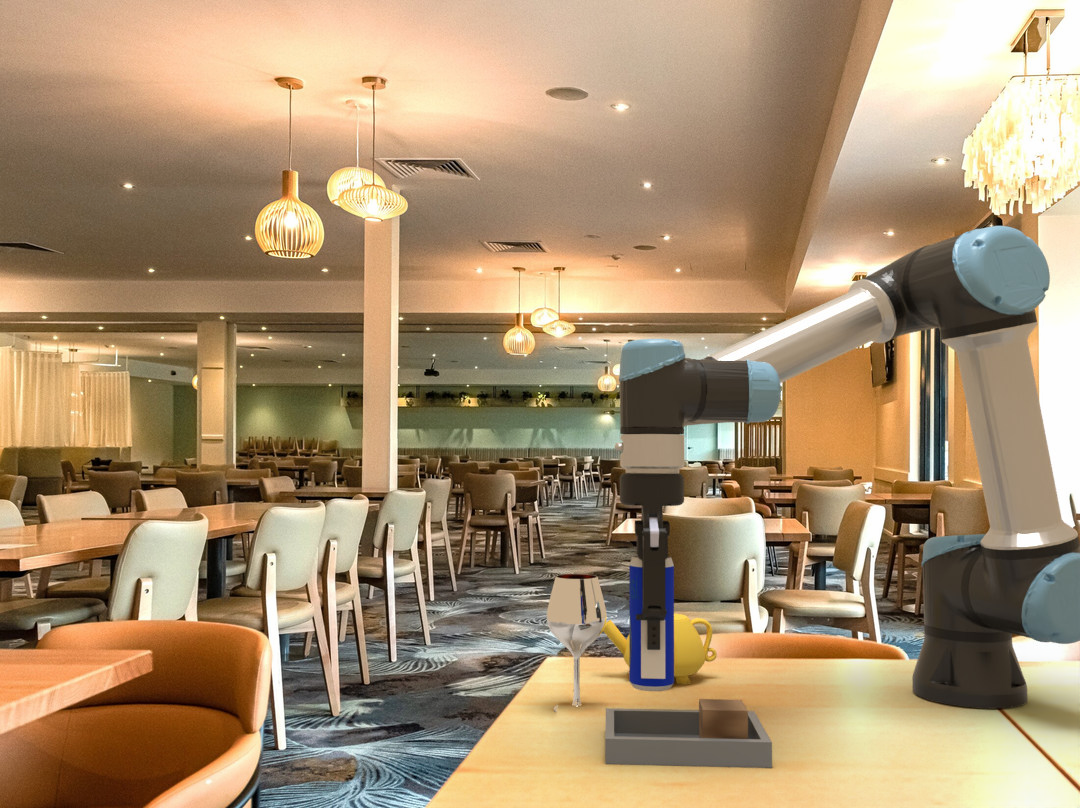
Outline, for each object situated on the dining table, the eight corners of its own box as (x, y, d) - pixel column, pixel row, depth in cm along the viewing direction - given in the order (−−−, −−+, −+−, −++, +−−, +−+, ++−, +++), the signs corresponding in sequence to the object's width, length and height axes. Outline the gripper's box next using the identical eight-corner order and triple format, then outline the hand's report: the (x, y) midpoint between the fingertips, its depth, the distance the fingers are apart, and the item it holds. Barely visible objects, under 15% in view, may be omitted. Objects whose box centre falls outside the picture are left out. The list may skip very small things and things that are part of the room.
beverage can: (645, 679, 117) (645, 553, 117) (682, 686, 113) (682, 556, 114) (620, 687, 113) (620, 556, 113) (658, 694, 109) (658, 560, 110)
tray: (754, 740, 118) (754, 711, 118) (772, 775, 105) (771, 742, 105) (605, 737, 119) (605, 708, 120) (605, 771, 107) (605, 738, 107)
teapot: (658, 664, 162) (657, 596, 162) (725, 677, 152) (724, 605, 152) (597, 677, 152) (597, 605, 152) (665, 693, 142) (664, 616, 142)
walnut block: (742, 742, 114) (741, 699, 115) (748, 756, 109) (747, 710, 110) (699, 742, 115) (698, 698, 115) (703, 754, 110) (702, 709, 110)
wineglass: (556, 720, 127) (556, 581, 128) (539, 704, 135) (539, 573, 136) (615, 715, 129) (615, 579, 130) (595, 700, 137) (595, 572, 138)
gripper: (619, 470, 124) (618, 655, 122) (620, 472, 106) (620, 690, 104) (678, 470, 123) (679, 656, 122) (690, 472, 105) (691, 691, 104)
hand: (652, 671), depth 113 cm, fingers closed on beverage can, 5 cm apart
